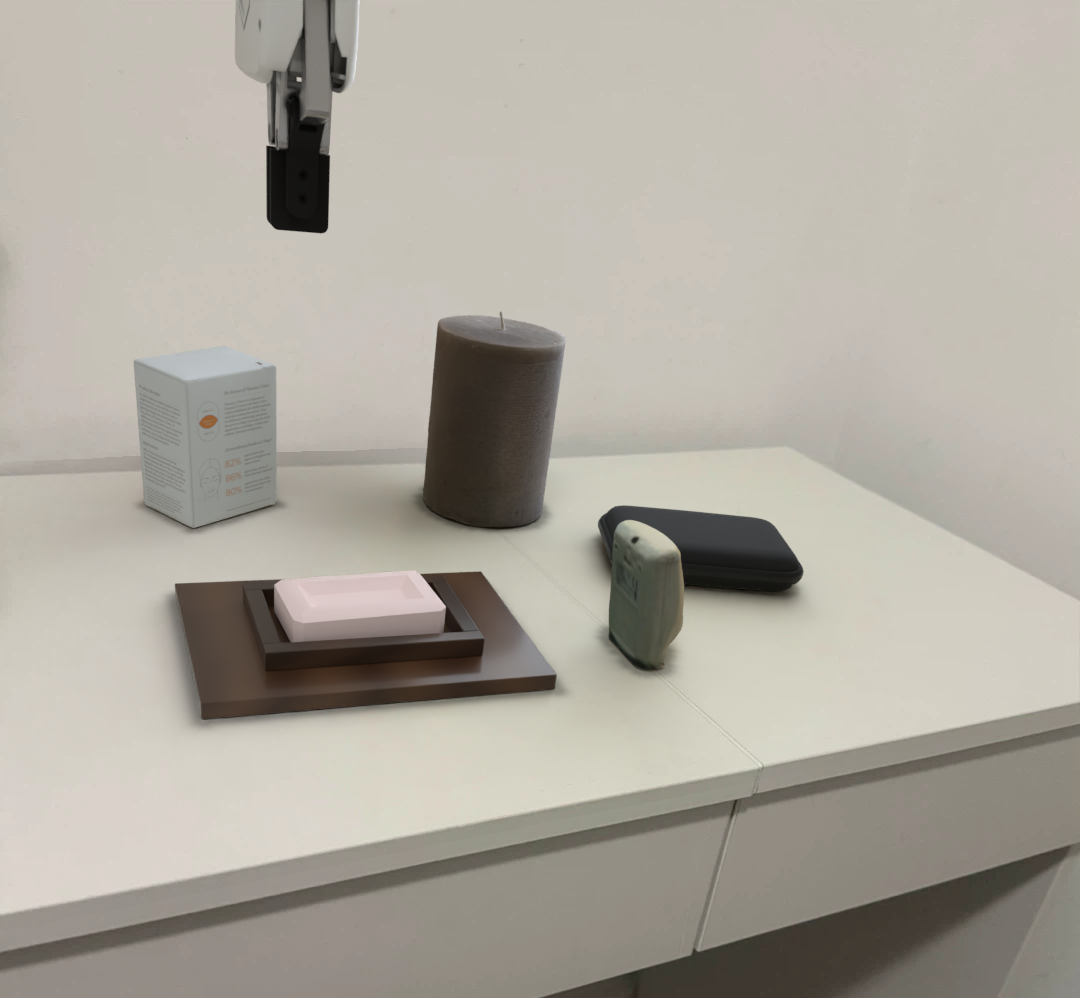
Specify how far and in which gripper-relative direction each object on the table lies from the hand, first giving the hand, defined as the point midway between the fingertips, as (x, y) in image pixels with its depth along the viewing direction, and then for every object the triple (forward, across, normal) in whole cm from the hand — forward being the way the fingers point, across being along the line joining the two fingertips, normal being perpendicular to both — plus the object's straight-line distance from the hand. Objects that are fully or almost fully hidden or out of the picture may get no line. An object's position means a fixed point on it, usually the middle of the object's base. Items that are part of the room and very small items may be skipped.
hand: (297, 228), depth 60 cm
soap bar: (+20, +11, +2) cm, 23 cm away
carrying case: (+21, +2, +30) cm, 37 cm away
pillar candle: (+21, -10, +17) cm, 29 cm away
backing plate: (+21, +11, +2) cm, 24 cm away
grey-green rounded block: (+21, +14, +19) cm, 32 cm away
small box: (+21, -11, -4) cm, 24 cm away
